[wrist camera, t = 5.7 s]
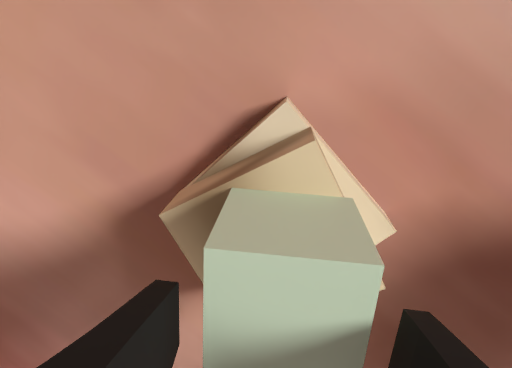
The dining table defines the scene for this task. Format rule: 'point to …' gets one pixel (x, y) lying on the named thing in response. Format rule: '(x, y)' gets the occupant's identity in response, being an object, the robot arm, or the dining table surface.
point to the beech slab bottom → (291, 122)
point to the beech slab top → (248, 177)
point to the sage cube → (288, 282)
